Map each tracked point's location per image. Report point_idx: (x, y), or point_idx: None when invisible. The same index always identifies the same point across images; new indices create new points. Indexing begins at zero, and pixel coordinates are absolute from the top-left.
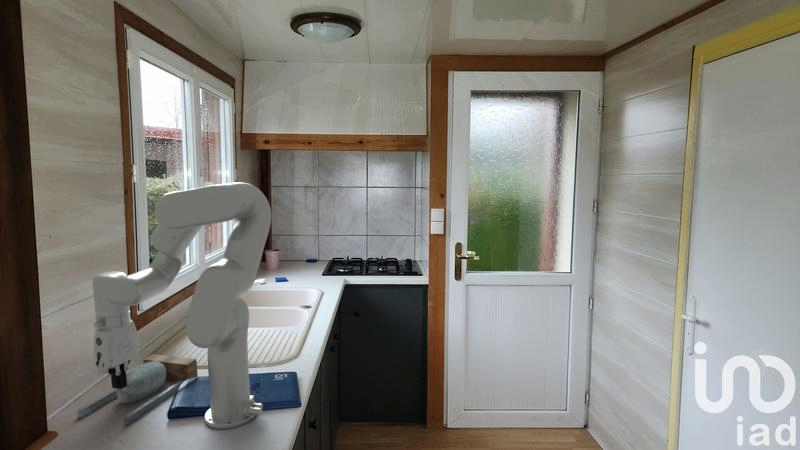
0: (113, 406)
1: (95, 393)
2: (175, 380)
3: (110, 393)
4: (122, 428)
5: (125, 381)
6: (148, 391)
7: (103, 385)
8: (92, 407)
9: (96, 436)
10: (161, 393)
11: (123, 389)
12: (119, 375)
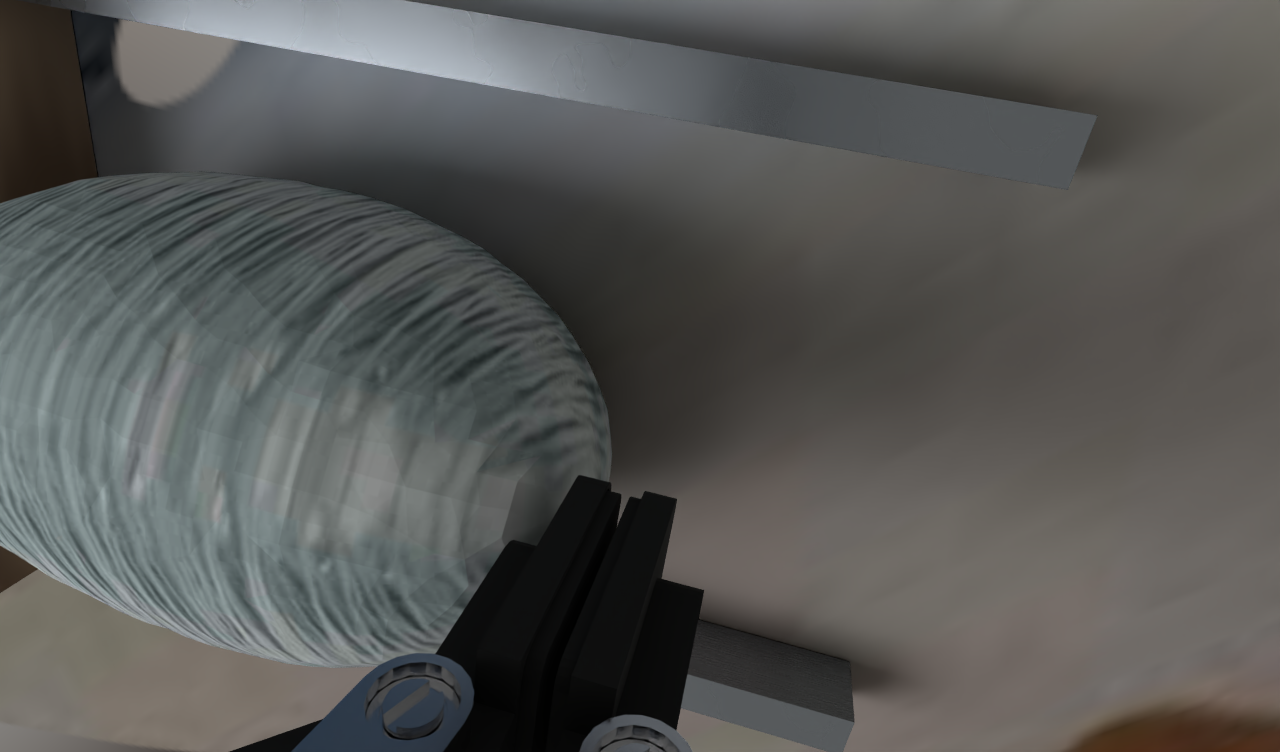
0: None
1: None
2: (70, 149)
3: None
4: (1120, 144)
5: (574, 529)
6: (432, 226)
7: None
8: (731, 660)
9: (1270, 353)
10: (402, 43)
11: None
12: (619, 704)
